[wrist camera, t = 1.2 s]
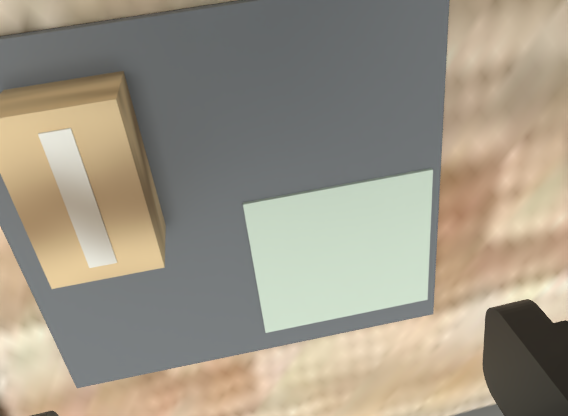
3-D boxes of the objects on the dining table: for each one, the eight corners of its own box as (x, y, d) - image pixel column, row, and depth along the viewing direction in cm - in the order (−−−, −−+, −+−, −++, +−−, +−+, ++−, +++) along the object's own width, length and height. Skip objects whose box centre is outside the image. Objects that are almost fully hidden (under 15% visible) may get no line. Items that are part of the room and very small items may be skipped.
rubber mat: (-76, 47, 22) (-84, 53, 21) (444, -31, 24) (452, -28, 23) (78, 380, 33) (76, 390, 32) (429, 307, 34) (434, 316, 34)
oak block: (3, 90, 23) (-24, 122, 20) (123, 71, 23) (115, 100, 20) (65, 243, 27) (51, 290, 24) (165, 225, 27) (164, 268, 24)
